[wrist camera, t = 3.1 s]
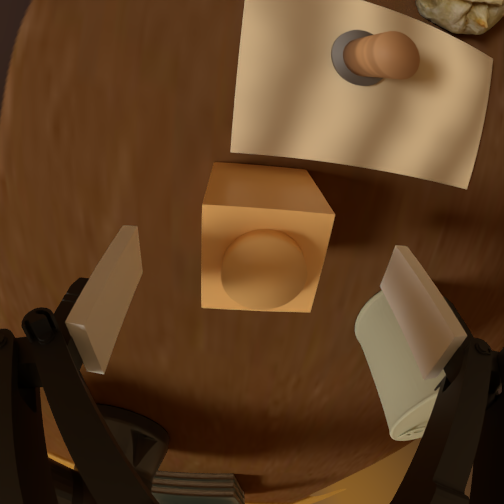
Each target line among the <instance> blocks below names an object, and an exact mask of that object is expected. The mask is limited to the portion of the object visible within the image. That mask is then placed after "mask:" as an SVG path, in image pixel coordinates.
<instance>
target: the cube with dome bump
mask: <svg viewBox="0 0 504 504" xmlns="http://www.w3.org/2000/svg"><path fill="white" fill-rule="evenodd" d="M334 218H335V213H334V212H333V210H332V209H331V207H330V206H329V204H328V202H327V201H326V199H325V198H324V196H323V195H322V193H321V191H320V190H319V188H318V187H317V185H316V184H315V182H314V181H313V179H312V178H311V176H310V175H309V173H308V172H307V170H305V169H296V168H287V167H277V166H266V165H254V164H241V163H225V162H214V165H213V168H212V171H211V175H210V179H209V182H208V186H207V189H206V193H205V197H204V200H203V204H202V250H201V303H202V308H214V309H231V310H252V311H278V312H310V311H311V307H312V304H313V300H314V297H315V293H316V290H317V286H318V282H319V278H320V275H321V271H322V267H323V263H324V259H325V255H326V251H327V247H328V243H329V239H330V235H331V231H332V226H333V222H334Z"/></svg>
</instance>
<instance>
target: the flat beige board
mask: <svg viewBox="0 0 504 504" xmlns="http://www.w3.org/2000/svg"><path fill="white" fill-rule="evenodd" d="M492 64H493V59H492V58H491V57H489V56H487V55H486V54H484V53H482V52H481V51H479V50H477V49H475V48H474V47H472V46H470V45H468V44H467V43H465V42H463V41H461V40H459V39H457V38H455V37H453V36H451V35H449V34H447V33H445V32H443V31H441V30H439V29H437V28H435V27H432V26H430V25H428V24H426V23H423V22H421V21H419V20H416V19H414V18H411V17H409V16H406V15H404V14H401V13H398V12H396V11H393V10H390V9H387V8H384V7H381V6H378V5H375V4H372V3H369V2H366V1H362V0H245V4H244V13H243V22H242V31H241V40H240V50H239V60H238V70H237V80H236V91H235V102H234V114H233V126H232V138H231V151H230V152H233V153H247V154H260V155H271V156H281V157H290V158H299V159H308V160H316V161H323V162H330V163H337V164H344V165H351V166H357V167H363V168H369V169H375V170H380V171H386V172H391V173H396V174H402V175H407V176H411V177H416V178H421V179H425V180H430V181H434V182H439V183H443V184H447V185H451V186H455V187H459V188H463V189H467V187H468V184H469V181H470V177H471V174H472V170H473V166H474V163H475V159H476V155H477V151H478V147H479V143H480V138H481V134H482V129H483V124H484V119H485V114H486V108H487V102H488V96H489V89H490V81H491V73H492Z"/></svg>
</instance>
